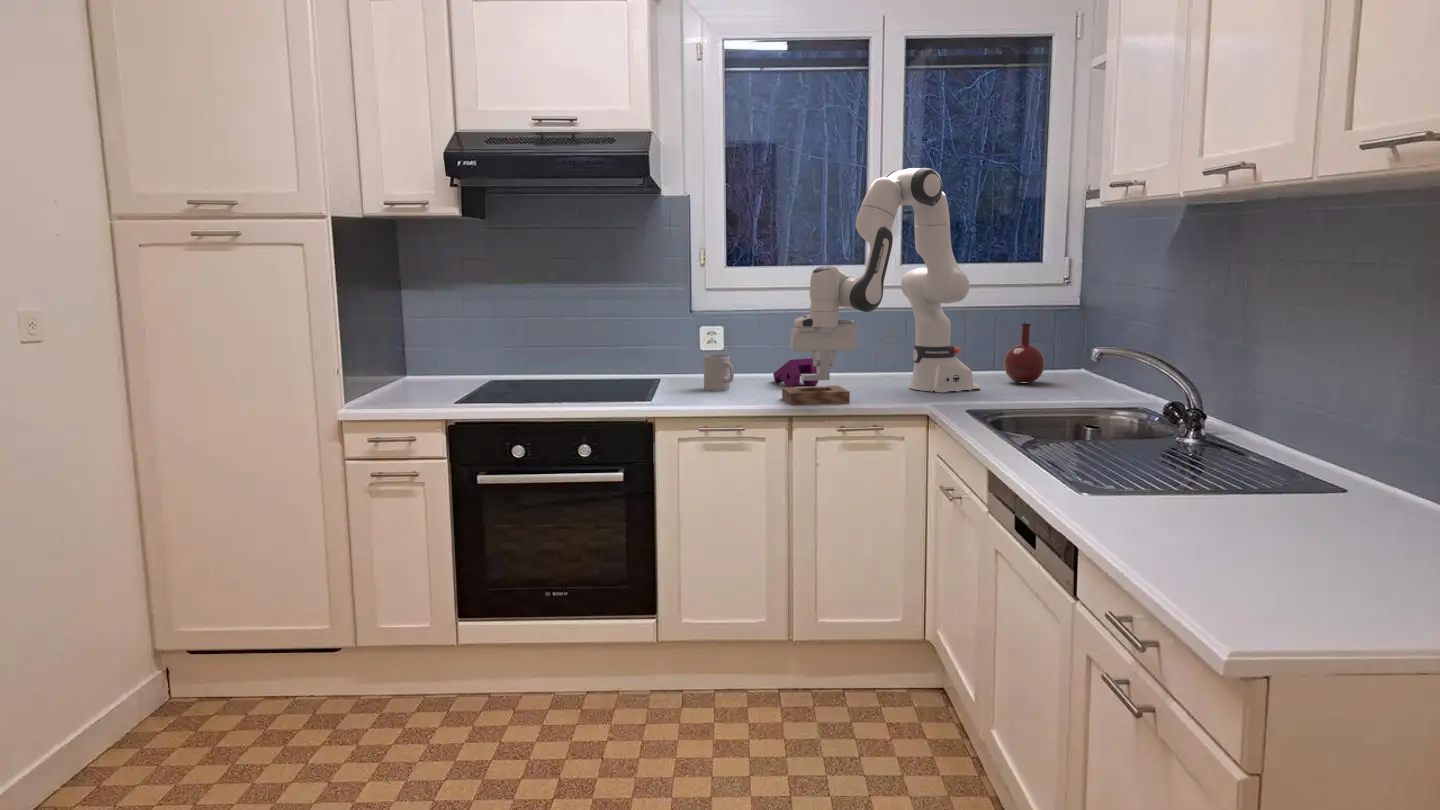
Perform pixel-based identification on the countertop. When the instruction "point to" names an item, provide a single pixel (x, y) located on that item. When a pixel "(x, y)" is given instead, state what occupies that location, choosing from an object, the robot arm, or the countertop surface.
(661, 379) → the countertop surface
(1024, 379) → the round-bottom flask
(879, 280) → the robot arm
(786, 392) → the well block
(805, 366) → the mounting bracket
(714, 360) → the mug
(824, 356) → the angle bracket
